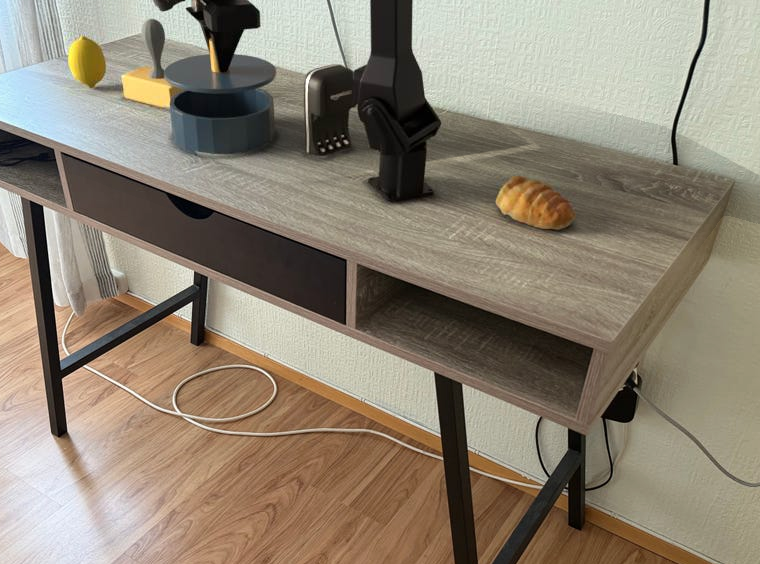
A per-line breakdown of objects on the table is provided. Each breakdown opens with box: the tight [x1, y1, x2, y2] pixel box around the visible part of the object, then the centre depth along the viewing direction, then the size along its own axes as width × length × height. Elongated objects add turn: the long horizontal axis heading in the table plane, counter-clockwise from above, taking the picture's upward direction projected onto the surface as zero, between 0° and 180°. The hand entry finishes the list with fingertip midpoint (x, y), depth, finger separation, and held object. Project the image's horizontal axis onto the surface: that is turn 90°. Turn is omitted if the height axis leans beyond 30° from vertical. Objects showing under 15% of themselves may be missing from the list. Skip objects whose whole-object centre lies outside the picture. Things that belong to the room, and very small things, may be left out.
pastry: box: [495, 175, 576, 231], centre depth 98 cm, size 9×7×4 cm
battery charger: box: [303, 63, 357, 157], centre depth 109 cm, size 7×4×11 cm, turn 132°
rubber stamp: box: [121, 18, 183, 109], centre depth 124 cm, size 10×6×12 cm, turn 60°
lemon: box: [67, 35, 107, 89], centre depth 129 cm, size 6×6×8 cm
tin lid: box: [164, 39, 277, 94], centre depth 110 cm, size 15×15×5 cm
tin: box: [169, 87, 276, 156], centre depth 115 cm, size 14×14×5 cm
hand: (220, 68), depth 110 cm, fingers closed on tin lid, 2 cm apart
